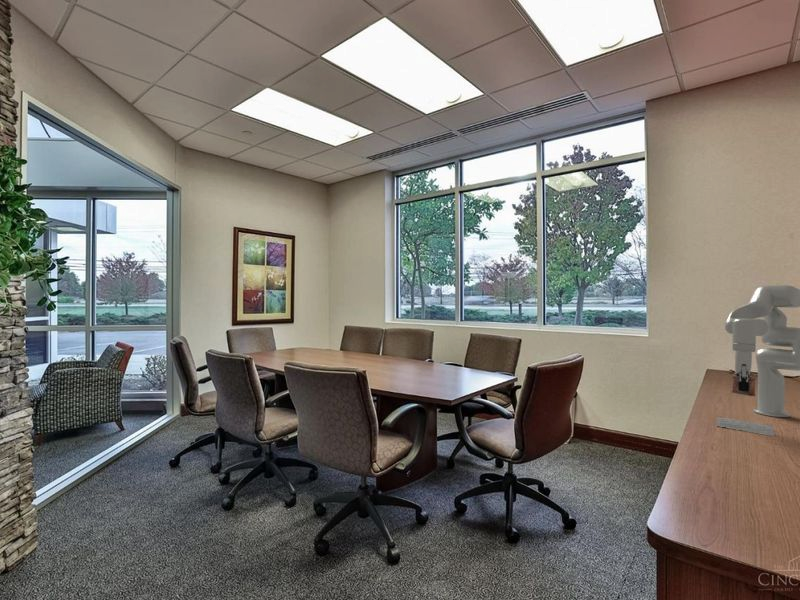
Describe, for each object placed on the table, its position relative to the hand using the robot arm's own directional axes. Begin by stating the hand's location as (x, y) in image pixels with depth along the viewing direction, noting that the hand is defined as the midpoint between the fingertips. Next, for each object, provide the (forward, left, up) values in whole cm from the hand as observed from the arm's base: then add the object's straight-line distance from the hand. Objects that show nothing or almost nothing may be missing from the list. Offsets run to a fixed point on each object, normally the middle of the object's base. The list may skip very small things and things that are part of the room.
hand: (743, 389), depth 170 cm
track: (+2, 0, -16) cm, 16 cm away
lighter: (0, 0, -2) cm, 2 cm away
